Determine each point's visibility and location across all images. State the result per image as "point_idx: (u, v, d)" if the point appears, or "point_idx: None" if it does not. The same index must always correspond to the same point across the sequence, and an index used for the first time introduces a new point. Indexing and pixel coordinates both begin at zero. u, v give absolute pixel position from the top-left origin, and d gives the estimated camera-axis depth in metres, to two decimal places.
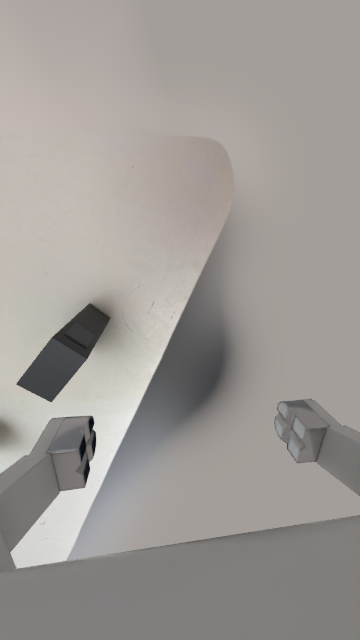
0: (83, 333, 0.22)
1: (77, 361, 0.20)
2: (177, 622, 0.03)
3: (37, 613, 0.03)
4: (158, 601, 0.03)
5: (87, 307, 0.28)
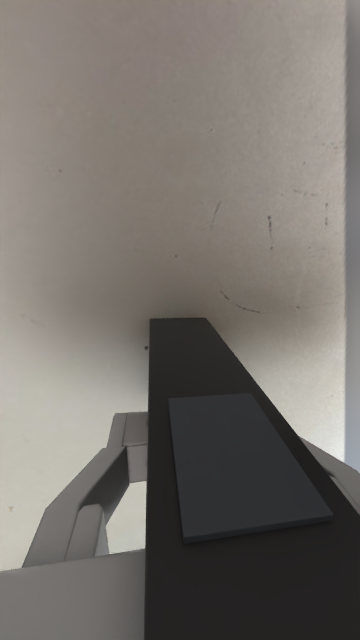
0: (227, 425, 0.05)
1: None
2: None
3: (37, 614, 0.03)
4: None
5: (153, 328, 0.11)
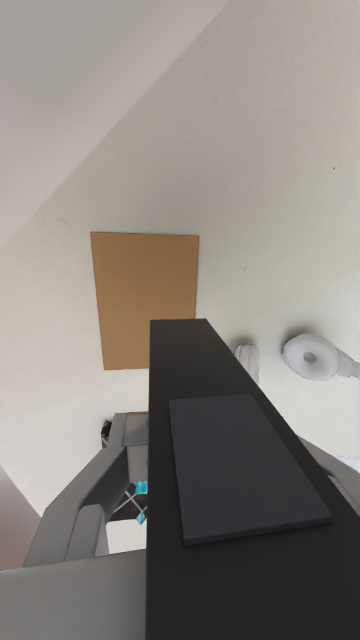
0: (227, 427, 0.05)
1: None
2: None
3: (37, 613, 0.03)
4: None
5: (153, 329, 0.11)
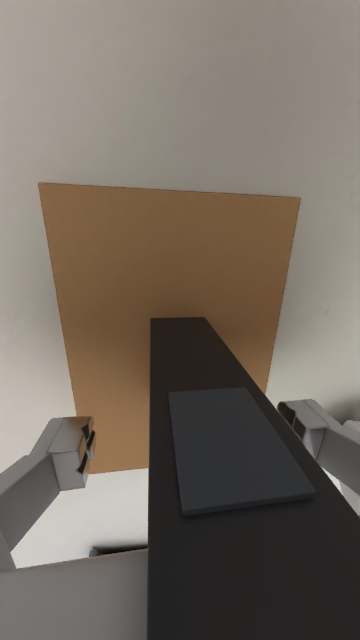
0: (223, 416, 0.05)
1: None
2: None
3: (37, 613, 0.03)
4: None
5: (154, 327, 0.12)
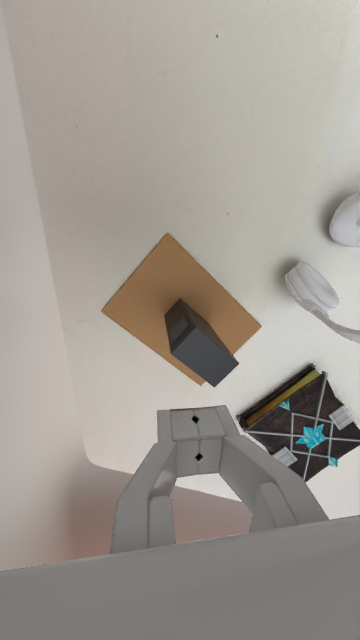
0: (178, 325, 0.22)
1: (198, 335, 0.19)
2: (177, 622, 0.03)
3: (36, 614, 0.03)
4: (158, 601, 0.03)
5: (165, 317, 0.29)
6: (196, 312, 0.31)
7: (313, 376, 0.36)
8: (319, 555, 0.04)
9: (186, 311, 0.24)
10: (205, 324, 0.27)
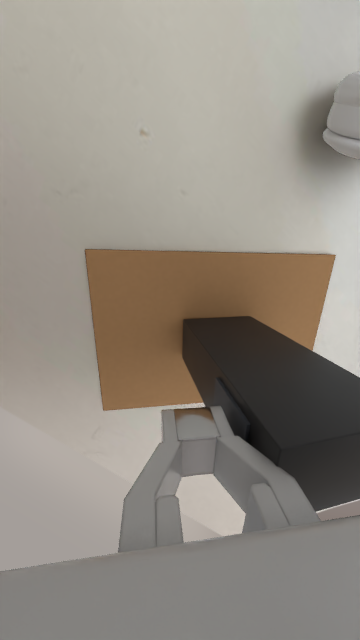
0: None
1: (299, 458, 0.06)
2: (177, 622, 0.03)
3: (37, 614, 0.03)
4: (158, 601, 0.03)
5: (186, 365, 0.17)
6: (221, 318, 0.17)
7: None
8: (319, 555, 0.04)
9: (212, 361, 0.11)
10: (256, 340, 0.13)
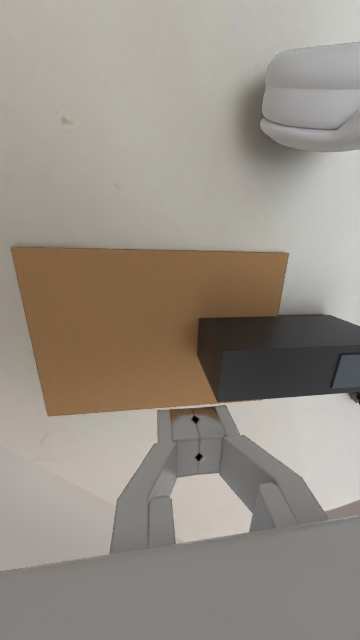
0: (353, 370, 0.13)
1: None
2: (177, 622, 0.03)
3: (37, 613, 0.03)
4: (158, 601, 0.03)
5: (244, 398, 0.13)
6: (212, 329, 0.15)
7: None
8: (319, 555, 0.04)
9: (329, 348, 0.13)
10: (270, 326, 0.16)
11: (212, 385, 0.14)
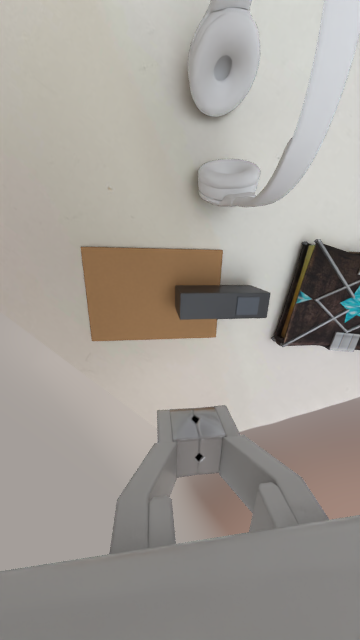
0: (245, 305, 0.28)
1: None
2: (177, 622, 0.03)
3: (37, 613, 0.03)
4: (158, 601, 0.03)
5: (192, 318, 0.28)
6: (179, 288, 0.29)
7: (311, 252, 0.32)
8: (319, 555, 0.04)
9: (231, 294, 0.27)
10: (211, 288, 0.30)
11: (178, 314, 0.28)
